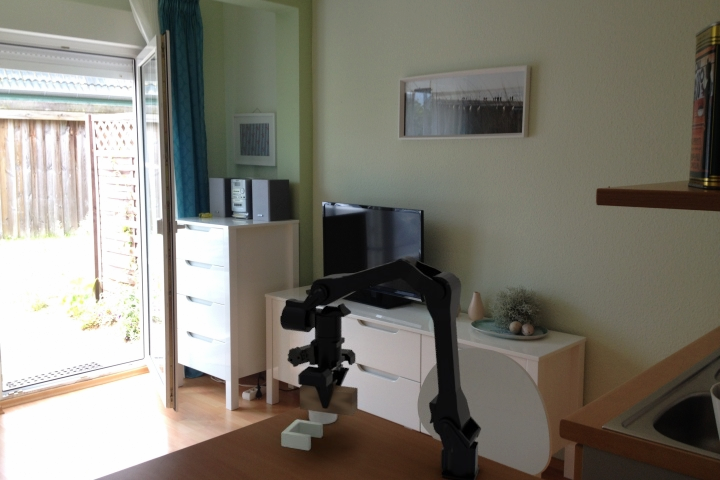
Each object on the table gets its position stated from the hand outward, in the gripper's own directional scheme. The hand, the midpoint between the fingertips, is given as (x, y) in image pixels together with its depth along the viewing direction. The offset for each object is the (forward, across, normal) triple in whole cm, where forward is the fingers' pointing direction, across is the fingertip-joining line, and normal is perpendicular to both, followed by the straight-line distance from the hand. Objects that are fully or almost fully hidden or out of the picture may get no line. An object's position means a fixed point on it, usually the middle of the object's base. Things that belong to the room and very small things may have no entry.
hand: (328, 405), depth 140 cm
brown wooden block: (+1, 0, 0) cm, 1 cm away
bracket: (+9, 0, -6) cm, 11 cm away
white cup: (+9, -13, -7) cm, 17 cm away
